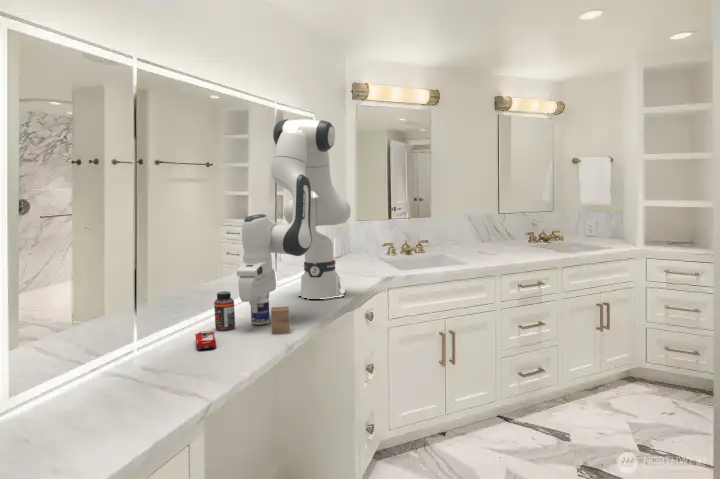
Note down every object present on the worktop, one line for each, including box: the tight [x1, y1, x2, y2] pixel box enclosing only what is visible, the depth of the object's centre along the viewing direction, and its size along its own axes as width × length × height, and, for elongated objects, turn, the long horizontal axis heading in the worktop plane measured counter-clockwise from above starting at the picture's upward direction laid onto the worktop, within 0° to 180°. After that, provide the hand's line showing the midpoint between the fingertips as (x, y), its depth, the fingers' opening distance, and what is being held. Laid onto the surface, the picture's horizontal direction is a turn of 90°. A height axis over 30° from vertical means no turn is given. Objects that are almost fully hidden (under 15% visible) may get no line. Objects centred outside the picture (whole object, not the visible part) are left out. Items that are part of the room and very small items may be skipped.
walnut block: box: [270, 305, 290, 335], centre depth 160 cm, size 5×5×7 cm
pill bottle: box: [250, 292, 270, 326], centre depth 170 cm, size 6×6×10 cm
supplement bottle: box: [213, 291, 236, 332], centre depth 165 cm, size 6×6×11 cm
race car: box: [194, 330, 217, 351], centre depth 148 cm, size 13×5×4 cm, turn 17°
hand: (260, 309), depth 170 cm, fingers closed on pill bottle, 6 cm apart
